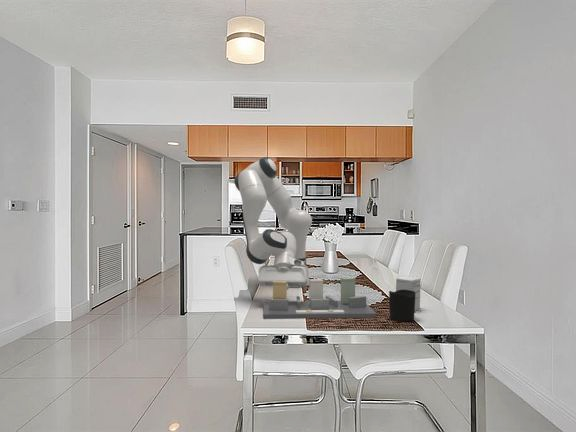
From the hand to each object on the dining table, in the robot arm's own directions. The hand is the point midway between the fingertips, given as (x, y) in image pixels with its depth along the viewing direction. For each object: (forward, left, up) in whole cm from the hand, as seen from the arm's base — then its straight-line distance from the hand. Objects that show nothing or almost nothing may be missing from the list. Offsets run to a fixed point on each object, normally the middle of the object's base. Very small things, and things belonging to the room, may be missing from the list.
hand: (281, 294), depth 172 cm
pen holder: (+14, +44, -7) cm, 47 cm away
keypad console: (+2, +14, -6) cm, 16 cm away
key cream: (-1, +14, -5) cm, 15 cm away
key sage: (-4, +28, -5) cm, 28 cm away
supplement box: (0, +51, -7) cm, 52 cm away
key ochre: (+2, -1, -5) cm, 5 cm away
